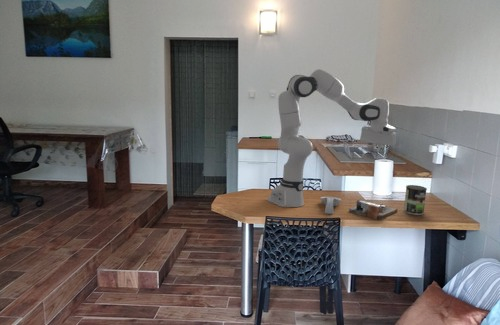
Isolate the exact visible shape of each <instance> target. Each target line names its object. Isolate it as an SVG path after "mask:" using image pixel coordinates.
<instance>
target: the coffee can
mask: <svg viewBox="0 0 500 325" xmlns="http://www.w3.org/2000/svg"><path fill="white" fill-rule="evenodd" d="M405 188H406V189H405V198H404V206H403V212H404V213H405V214H409V215H413V216H421V215H424V212H425V211H424V210H425V202H426V195H427V187H424V186H421V185H416V184H408V185H406V186H405Z"/></svg>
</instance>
